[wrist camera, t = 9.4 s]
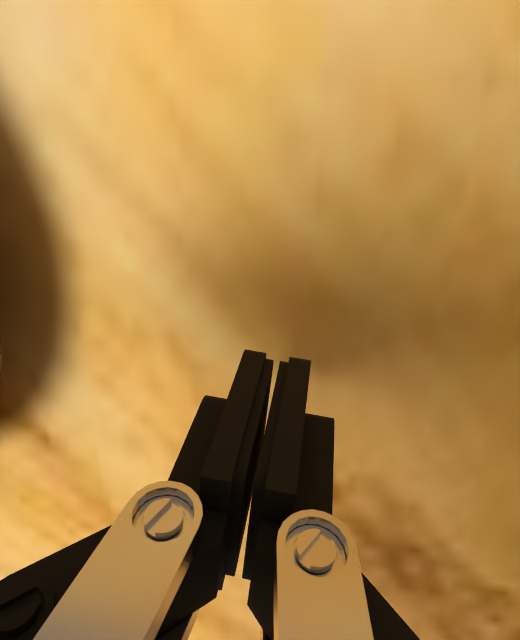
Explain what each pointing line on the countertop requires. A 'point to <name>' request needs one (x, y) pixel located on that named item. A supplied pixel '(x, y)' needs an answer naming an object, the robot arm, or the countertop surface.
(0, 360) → the plant saucer
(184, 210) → the countertop surface
